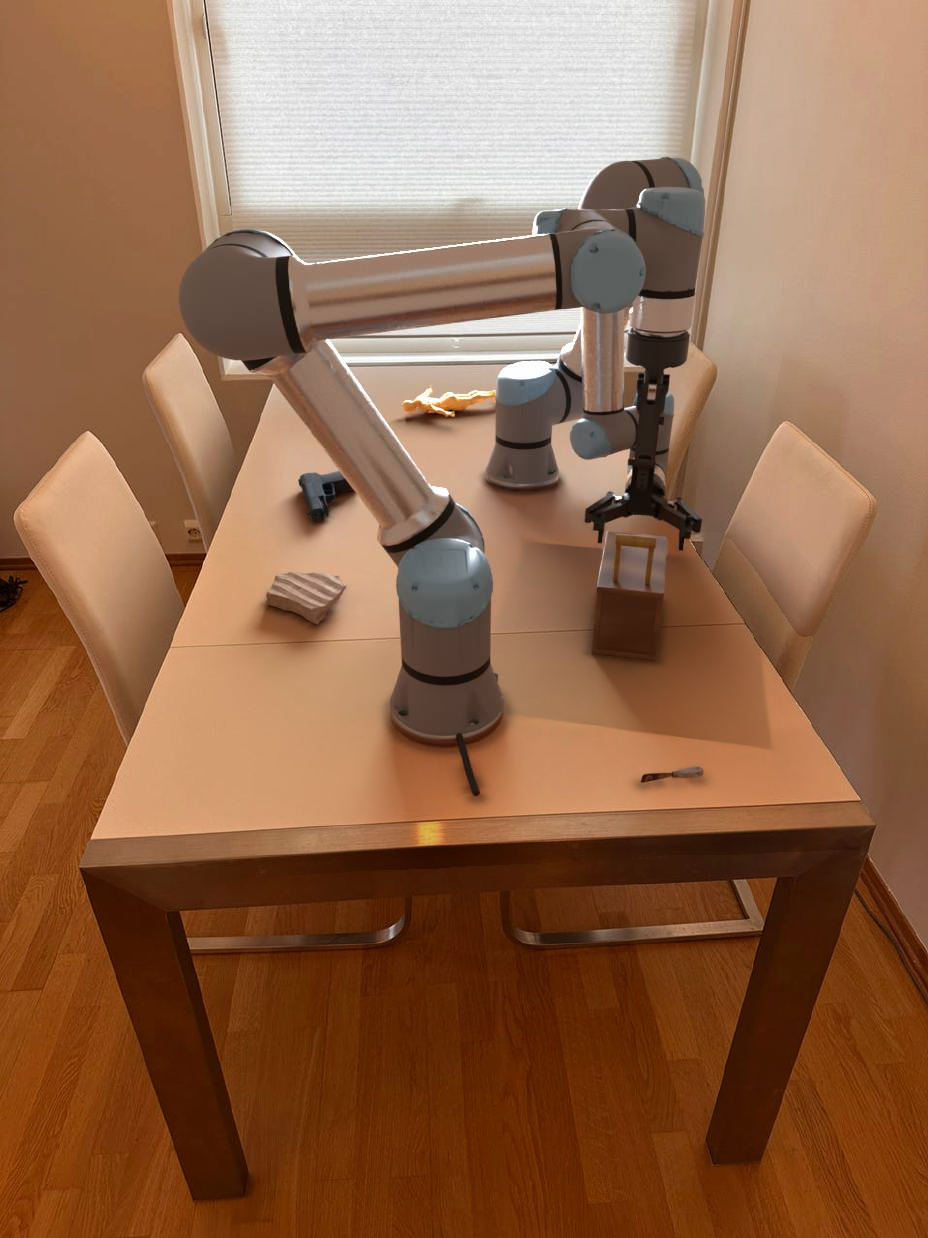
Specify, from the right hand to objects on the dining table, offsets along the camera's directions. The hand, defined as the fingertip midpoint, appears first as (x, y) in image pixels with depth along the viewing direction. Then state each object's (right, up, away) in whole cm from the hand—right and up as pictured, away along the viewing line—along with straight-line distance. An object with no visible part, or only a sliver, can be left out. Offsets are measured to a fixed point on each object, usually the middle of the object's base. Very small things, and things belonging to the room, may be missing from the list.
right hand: (640, 540), depth 151 cm
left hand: (-6, +4, -31) cm, 32 cm away
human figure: (-33, +40, +75) cm, 91 cm away
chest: (-4, -14, -11) cm, 19 cm away
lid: (-5, -5, -18) cm, 19 cm away
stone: (-56, -11, -5) cm, 57 cm away
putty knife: (-4, -33, -41) cm, 53 cm away
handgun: (-56, +10, +29) cm, 64 cm away
